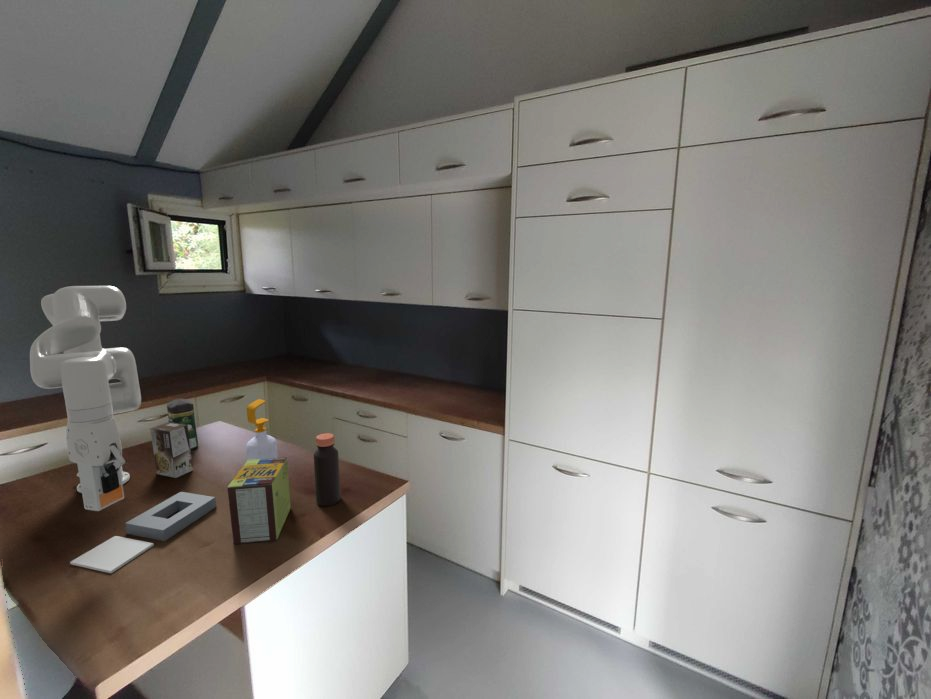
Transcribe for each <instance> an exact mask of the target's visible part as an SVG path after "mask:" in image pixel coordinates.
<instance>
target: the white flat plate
mask: <svg viewBox="0 0 931 699" xmlns="http://www.w3.org/2000/svg"><path fill="white" fill-rule="evenodd" d="M154 544H155V543H154V542H149V541H145V540H140V539H139V540H138V539H135V538H134V539H133V538H129V537H128V538H127V537H123V536H118V535H115V536H112V537H110V538H109V539H107V540H105V541H103V542H102V543H100V544H98V545H96V546H95V547H93V548H92V549H90V550H88V551H86V552H84V553H83V554H81V555H80V556H78V557H77V558H74V559H73V560H71V561H70V562H69V564H70V565H71V566H76V567H81V568H84V569H85V568H86V569H90V570H95V571H99V572H103V573H108V574H113V573H114V572H116V571H117V570H119V569H120V568H122V567H123V566H125V565H126V564H128V563H130V562H131V561H133V560H134V559H136V558H137V557H139V556H140V555H141V554H143V553H144V552H146V551H147V550H149V549H151V548H152V547H154V546H155V545H154Z"/></svg>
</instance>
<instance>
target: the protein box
mask: <svg viewBox="0 0 931 699" xmlns="http://www.w3.org/2000/svg"><path fill="white" fill-rule="evenodd" d="M288 464H289V463H288V457H278V458H270V459H253V460H248V459H247V460H246V462H245V463H244V465H243V466H242V467H241V469H240V470H239V471H238V472H237V474H236V475H235V476H234V477H233V479H232V480H231V482H230V483H229V484H228V485H227V497H228V505H229V515H230V516H229V517H230V524H231V525H230V526H231V533H232V542H233V545H241V544H250V543H251V544H252V543H259V542H261V543H262V542H271V541H277V540H278V539H279V536H280V534H281V531H282V529H283V527H284V524H285V522H286V519H287V518H288V515H289V513H290V510H291V506H292V505H291V491H290V490H291V489H290V479H289V467H288Z"/></svg>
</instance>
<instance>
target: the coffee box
mask: <svg viewBox="0 0 931 699" xmlns="http://www.w3.org/2000/svg"><path fill="white" fill-rule="evenodd" d="M149 430H150V437H151V443H152V450H153V457H154V465H155V470H156V475H159V476H165V477H170V478H174V479H177V478H179V477H181V476H184V475H185V474H188V473H190V472H193V470H194V468H193V459H192V452H191V450H192V449H191V450H190V442H189V434H188V425H185V424H178V423H171V422H169V421H168V422H165V423H160V424H159V425H156V426H154V427H151V428H150V429H149Z"/></svg>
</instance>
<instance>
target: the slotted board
mask: <svg viewBox="0 0 931 699" xmlns="http://www.w3.org/2000/svg"><path fill="white" fill-rule="evenodd" d="M215 508H217V500H216V496H210V495H205V494H197V493H193V492H185V491H180V492H178V493H176V494H174V495H172V496H170V497H169V498H167V499H165V500H164V501H162V502H160V503H159V504H157V505H154V506H152V508H150V509H148V510H145V511H144V512H142V513H141V514H139V515H137V516H135V517H133V518H132V519H130V520H128V521H126V522H125V523H124V524H125V531H126V534H127V535H130V536H135V537H142V538H147V539H152V540H156V541H157V540H158V541H162V542H165V541H167V540H168V539H170V538H172V537H173V536H175V535H176V534H178V533H179V532H181V531H182V530H184V529H185V528H187V527H188V526H189V525H191V524H193V523H194V522H196V521H197V520H199V519H200V518H202V517H203V516H205V515H206V514H207V513H209V512H211V511H212V510H214V509H215ZM176 512H177V513H176ZM170 516H171V517H170ZM168 517H169V518H168Z"/></svg>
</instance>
